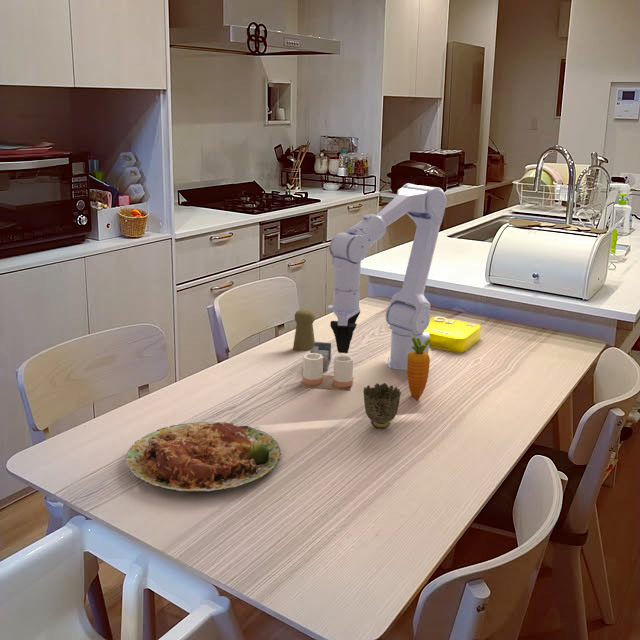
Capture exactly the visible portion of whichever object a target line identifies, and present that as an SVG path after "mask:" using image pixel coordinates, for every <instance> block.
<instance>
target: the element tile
mask: <svg viewBox="0 0 640 640" xmlns="http://www.w3.org/2000/svg"><path fill="white" fill-rule="evenodd" d="M424 332H428V333H429V339H430V340H431V341H430V342H429V348H433V349H438V350H443V351H448V352H452V353H458V354H459V353H460V354H462V353H465V352H466V351H467V350H469V349H470V348H471V347H473V346H474V345H475V344H477V343H478V342H480V341H481V332H482V326H481V325H480V324H478V323H473V322H468V321H463V320H457V319H453V318H448V317H447V318H446V317H444V316H436V315H434V316H430V322H429V325H428V327H427V329H426V330H425V331H424Z"/></svg>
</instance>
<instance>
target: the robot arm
mask: <svg viewBox="0 0 640 640" xmlns="http://www.w3.org/2000/svg"><path fill="white" fill-rule="evenodd" d="M447 203H448V199H447V197H446V194H445V192H444V190H443V189H442V188H441V187H439V186H438V187H436V186H427V185H417V184H414V183H410V182H408V183H405V184H403V186H401V188H399V189H397V192H396V196H395V197H394V198H393V199H392V200H391V201H390V202H389V203H387V204H386V205H385V206H384V207H382V209H381V210H380V211H379V212H378V213H376V214H373V213H370V214H367V213H366V214H365V215H363V216H362V219H360V221H358V222H357V223H356V224H354V225H353V226H350V227H349V229H348V230H347V231H346V232H344V231H343V232H339V233H337V234H335V235H334V236H333V237H332V238H331V241H330V244H329V245H328V253H329V254H330V256H331V262H332V265H333V295H332V296H333V297H332V298H333V299H332V301H333V302H332V303H333V304H329V305H328V306H327V311H331V312H332V313H333V314H334V315H335V316H336V317H337V320H331V321H330V325H329V326H330V328H331V330H332V332H333V335H334V338H335V343H336V348H337V352H338V354H348V353H349V350H350V345H351V341H352V339H353V335H354V331H355V330H356V327H357V326H358V324H357V323H356V322H357V320H358V318H359V315H360V314H361V307H360V293H361V292H360V291H361V290H360V289H361V286H360V285H361V263H362V262H361V261H363V260H364V259H365V258H366V257H367V254H368V251H369V250H370V248H371V246H373V245H374V244H375V243H376V242H378V241H379V240H380V239H381V238H383V237H384V236H385V235H386V232H387V227H388V226H390V225H392V224H393V223H394V222H396V221H397V220H399V219H400V218H402V217H403V216H404V215H407V216H409V218H410V219H411V220H412V221H413V222H414V224H415V226H416V229H415V234H414V238H413V241H412V245H411V250H410V254H409V258H408V262H407V266H406V271H405V275H404V277H403V282H402V287H401V290H399V291H398V292H395V294H393V295H392V297H391V300H390V303H389V304H388V306H387V308H386V310H385V316H384V317H385V321H386V323H387V324H388V325H389V329H390V331H391V339H390V340H391V341H390V342H391V343H390V355H389V357H388V364H387V366H388V368H389V369H391V370H402V371H407V361H408V354H409V353H410V352H413V351H415V350H414V349H413V348H412V346H414V343H413V341H412V337H414V336H415V337H416V339H417V338H420V340H421V343H422V345H423V344H424V343H425V341H426V340H427V339H429V333H428V332H424V331H425V330H426V329H427V327H428V325H429V322H430V318H431V316H430V311H431V307H432V306H431V303H430V302H429V301H428V298H426V296H425V295H424V294H425V290H426V285H427V281H428V278H429V277H428V276H429V273H430V269H431V266H432V261H433V259H434V258H433V257H434V252H435V248H436V245H437V241H438V237H439V232H440V228H441V225H442V222H443V219H444V215H445V211H446V207H447ZM417 342H418V341H417ZM418 345H419V344H418ZM429 348H430V347H429V344H428V345H427V347H426V348H425V350H424V352H426V353H428V354H429Z"/></svg>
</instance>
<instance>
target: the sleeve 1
mask: <svg viewBox="0 0 640 640" xmlns="http://www.w3.org/2000/svg"><path fill="white" fill-rule="evenodd" d="M302 365H303V367H302V372H303V373H302V383H303V382H304V383H306V384H309V385H318V384H320V383H322V382H323V375H324V372H323V371H324V370H323V356H322V355H321V354H317V353H310V352H308V353H306V354H304V355H303V363H302Z"/></svg>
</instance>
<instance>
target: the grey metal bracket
mask: <svg viewBox="0 0 640 640" xmlns="http://www.w3.org/2000/svg"><path fill="white" fill-rule="evenodd" d="M309 353H317V354H321V355H322V356H323V371H326V372H327V371H329V368H330V365H331V362H332V361H331V360H332V342H323V341H315V342H314V346H313V348H312V350H309Z"/></svg>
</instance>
